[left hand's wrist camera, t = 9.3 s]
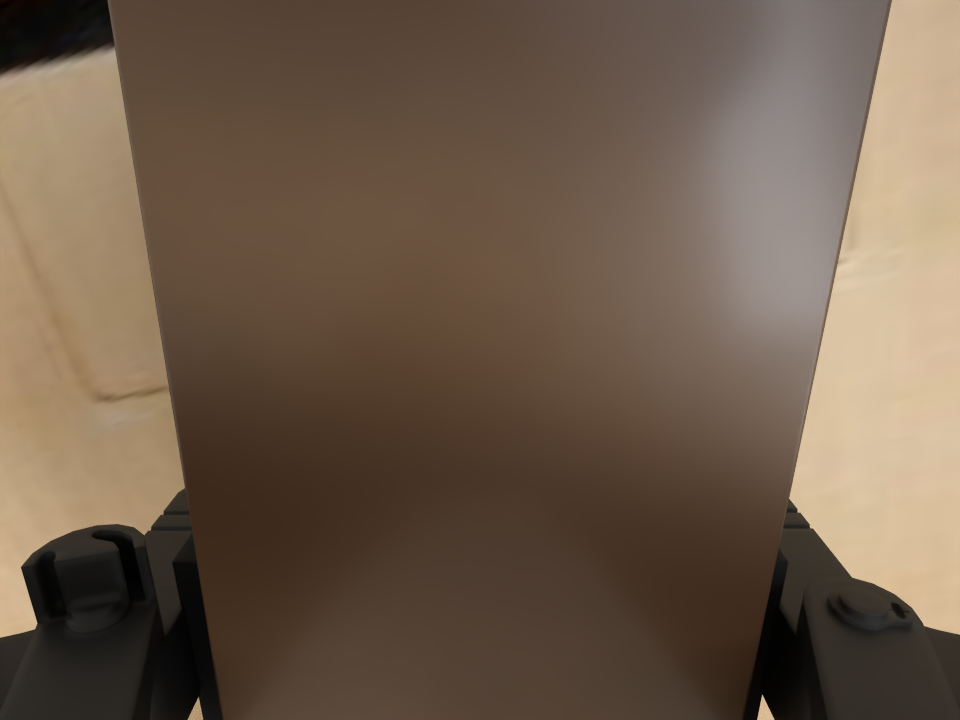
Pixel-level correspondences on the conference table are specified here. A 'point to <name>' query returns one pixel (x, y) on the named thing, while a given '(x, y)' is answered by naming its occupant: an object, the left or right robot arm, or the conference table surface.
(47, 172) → the conference table surface
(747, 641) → the beam
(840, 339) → the conference table surface
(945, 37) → the conference table surface
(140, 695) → the left robot arm
